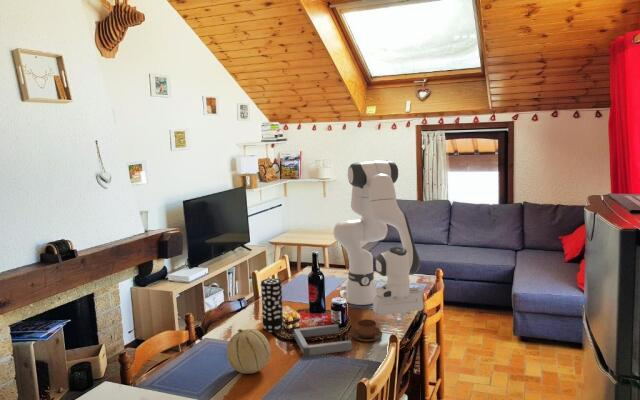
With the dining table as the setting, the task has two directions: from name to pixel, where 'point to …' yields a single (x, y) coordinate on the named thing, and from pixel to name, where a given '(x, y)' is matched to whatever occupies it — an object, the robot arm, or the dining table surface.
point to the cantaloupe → (248, 351)
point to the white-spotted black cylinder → (272, 305)
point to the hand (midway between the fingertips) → (398, 323)
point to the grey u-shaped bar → (320, 348)
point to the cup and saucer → (366, 331)
